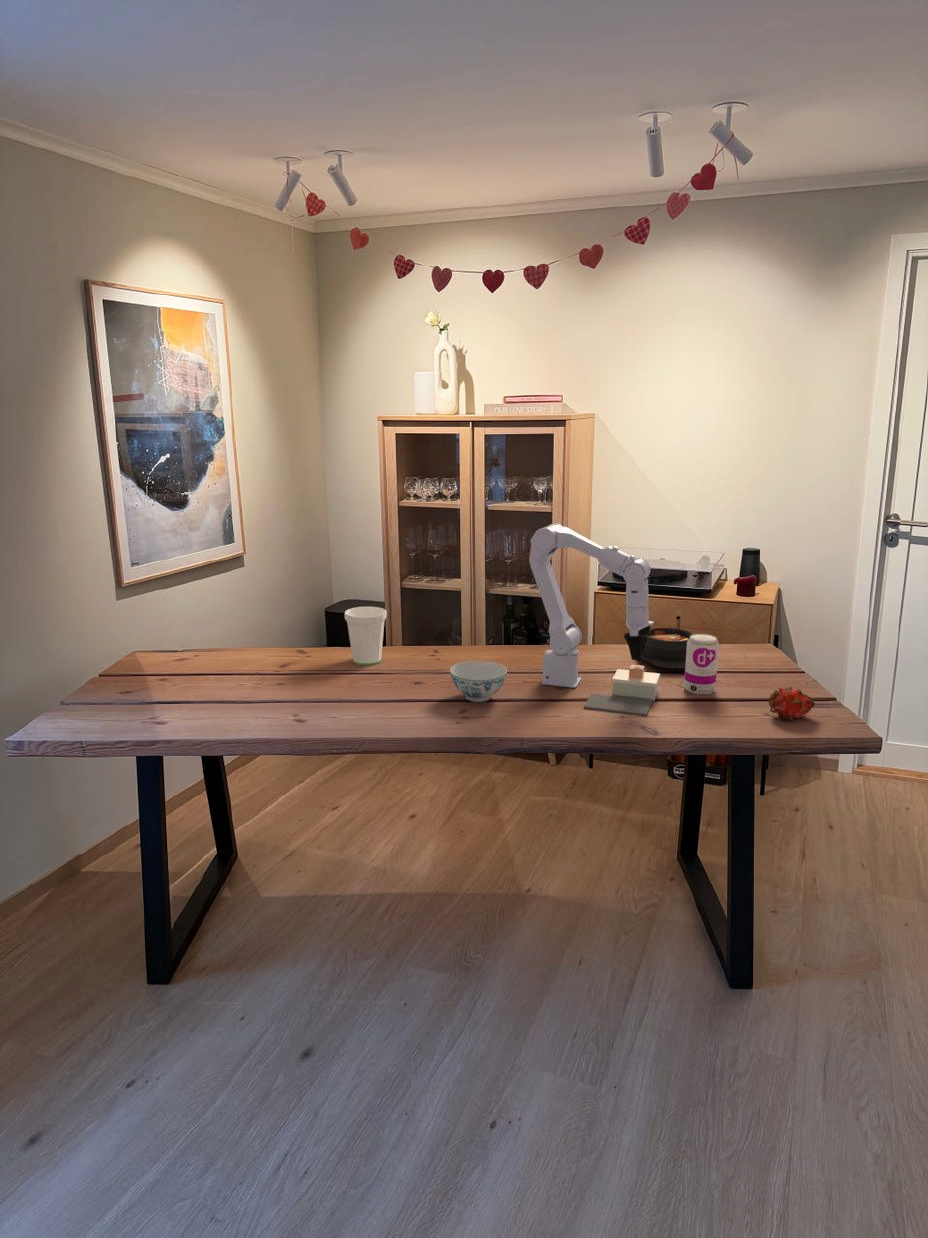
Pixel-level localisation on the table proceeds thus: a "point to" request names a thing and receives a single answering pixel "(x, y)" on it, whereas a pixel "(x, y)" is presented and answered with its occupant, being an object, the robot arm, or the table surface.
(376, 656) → the cup
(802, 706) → the dragon fruit
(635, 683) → the lid
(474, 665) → the chinaware
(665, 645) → the casserole
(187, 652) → the table surface
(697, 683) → the supplement can
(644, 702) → the mat
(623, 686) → the storage box
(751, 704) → the table surface
